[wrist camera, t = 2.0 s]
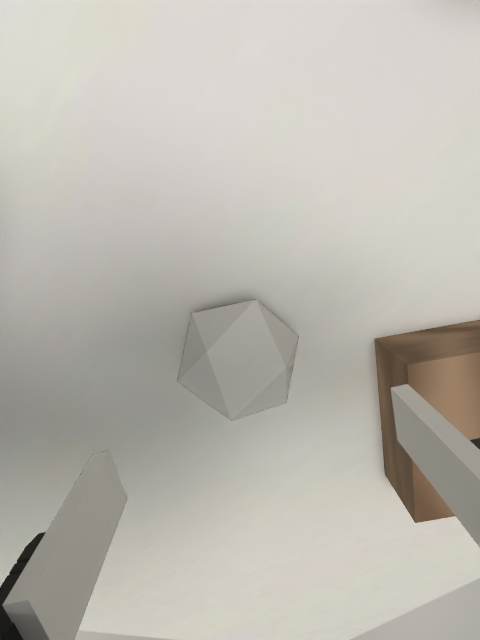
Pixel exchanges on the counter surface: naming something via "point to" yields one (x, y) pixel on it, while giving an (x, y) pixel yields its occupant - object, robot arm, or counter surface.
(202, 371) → the die
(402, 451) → the walnut block
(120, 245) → the counter surface
